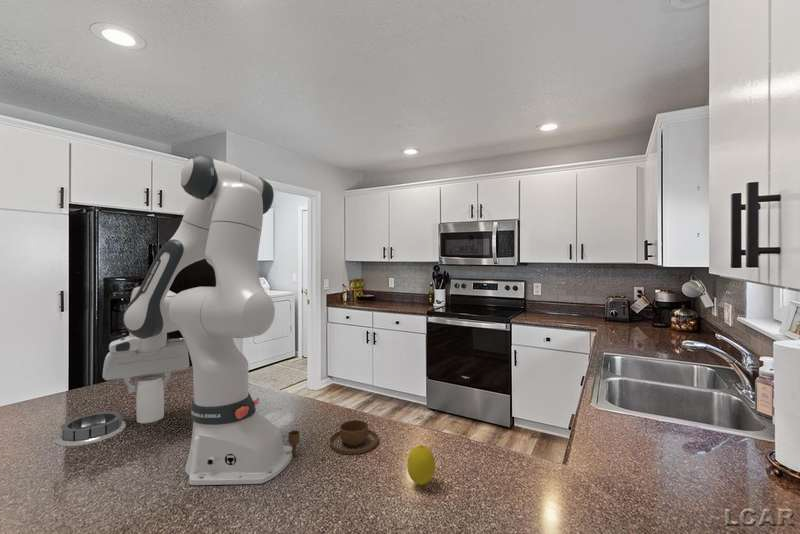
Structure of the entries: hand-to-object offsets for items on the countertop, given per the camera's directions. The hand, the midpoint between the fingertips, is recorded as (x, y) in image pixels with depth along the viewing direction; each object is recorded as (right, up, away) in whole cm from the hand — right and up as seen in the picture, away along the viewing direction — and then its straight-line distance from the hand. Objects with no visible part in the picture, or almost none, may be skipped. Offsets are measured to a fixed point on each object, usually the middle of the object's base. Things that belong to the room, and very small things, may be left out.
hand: (147, 390), depth 105 cm
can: (+1, -9, 0) cm, 9 cm away
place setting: (+56, -9, -13) cm, 58 cm away
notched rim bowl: (-9, -9, -8) cm, 15 cm away
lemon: (+76, -9, -31) cm, 82 cm away
